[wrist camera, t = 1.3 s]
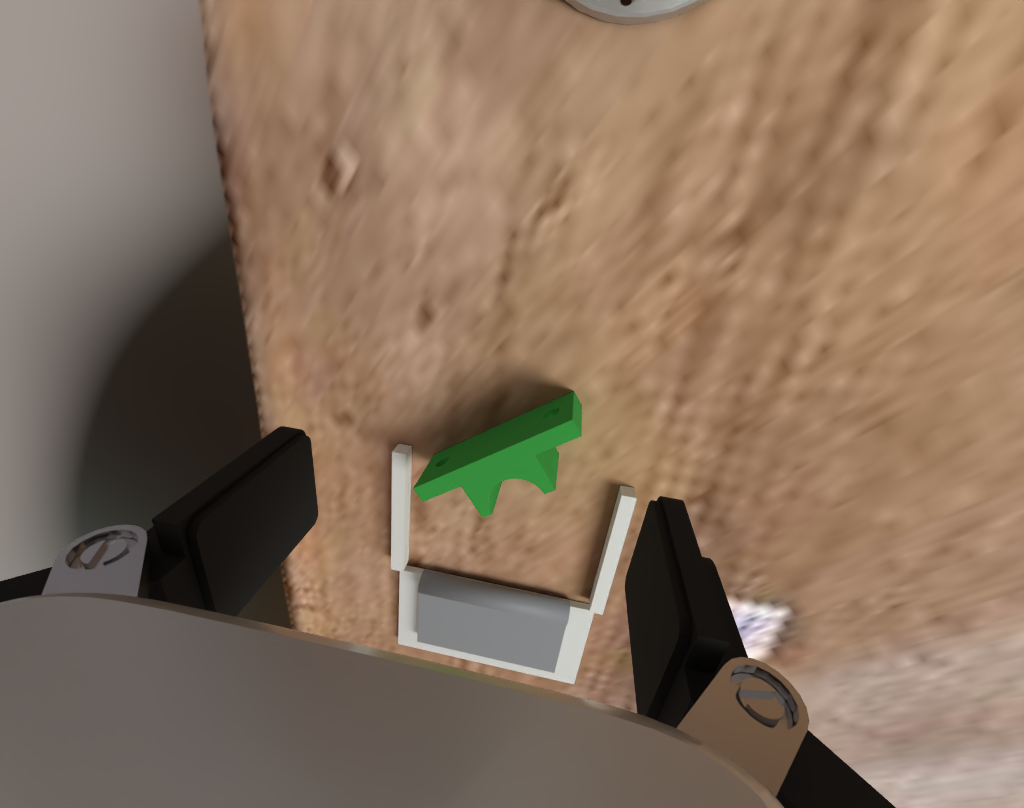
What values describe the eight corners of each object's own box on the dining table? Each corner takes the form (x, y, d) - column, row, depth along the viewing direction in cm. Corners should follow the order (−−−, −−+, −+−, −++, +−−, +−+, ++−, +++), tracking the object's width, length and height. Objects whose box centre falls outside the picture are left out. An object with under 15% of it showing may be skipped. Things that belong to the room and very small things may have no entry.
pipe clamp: (462, 491, 33) (443, 532, 28) (435, 452, 31) (412, 488, 27) (599, 436, 29) (601, 473, 25) (574, 389, 28) (572, 420, 24)
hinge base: (398, 443, 31) (388, 456, 30) (634, 487, 30) (637, 503, 28) (395, 636, 40) (387, 654, 38) (579, 678, 38) (579, 699, 37)
